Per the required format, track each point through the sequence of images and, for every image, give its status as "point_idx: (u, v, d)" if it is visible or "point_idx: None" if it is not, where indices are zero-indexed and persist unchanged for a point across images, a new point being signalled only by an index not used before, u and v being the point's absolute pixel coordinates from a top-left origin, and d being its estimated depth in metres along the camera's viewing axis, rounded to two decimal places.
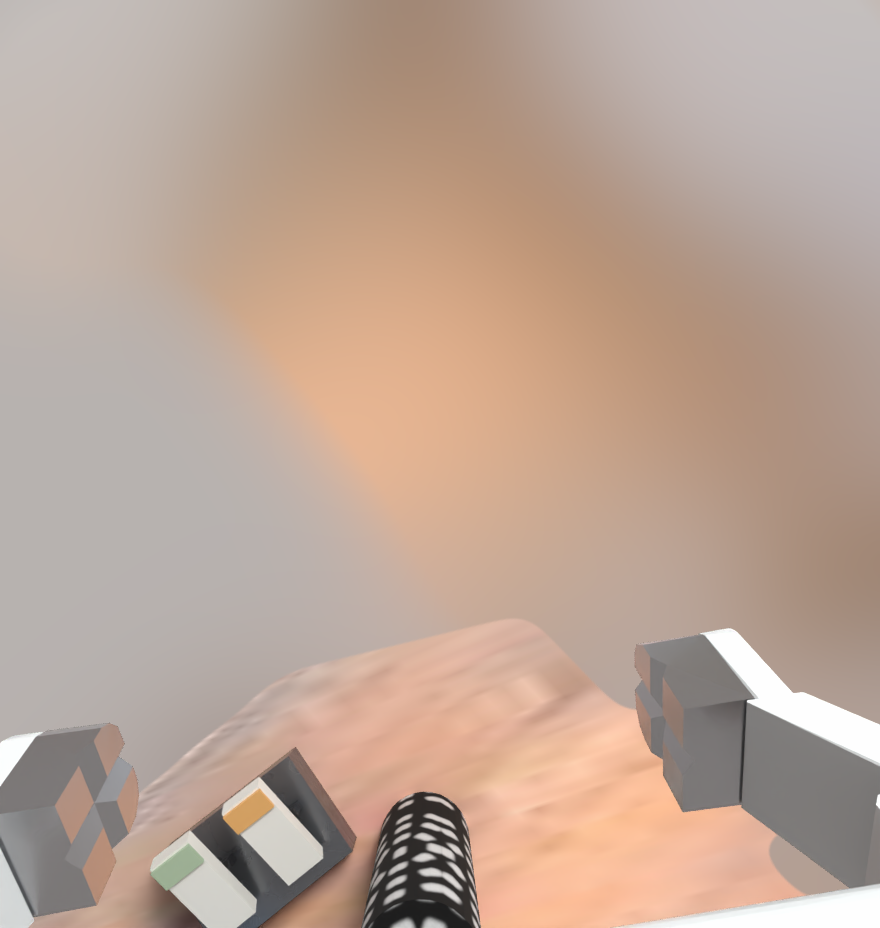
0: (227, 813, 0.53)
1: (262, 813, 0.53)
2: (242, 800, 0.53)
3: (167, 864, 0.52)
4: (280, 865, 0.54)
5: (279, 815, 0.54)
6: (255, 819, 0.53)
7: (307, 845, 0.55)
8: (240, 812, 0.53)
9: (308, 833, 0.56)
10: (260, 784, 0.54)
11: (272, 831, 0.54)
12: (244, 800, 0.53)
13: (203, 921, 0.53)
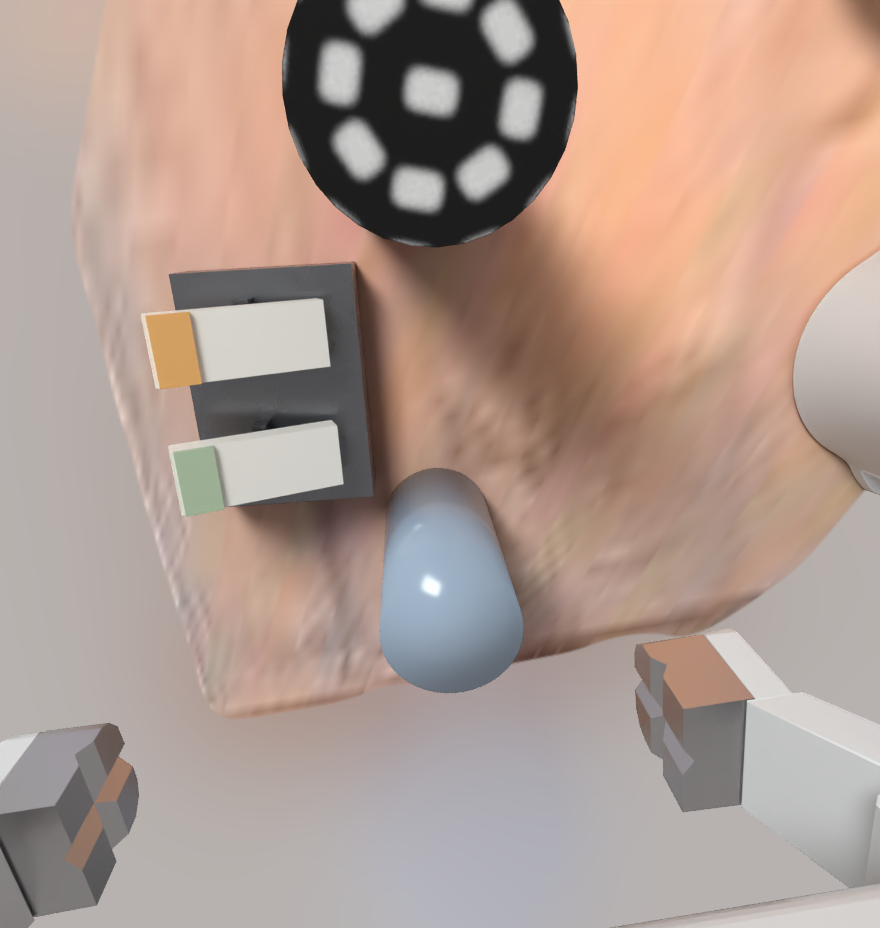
0: (157, 379, 0.32)
1: (189, 333, 0.32)
2: (150, 349, 0.32)
3: (185, 490, 0.34)
4: (292, 359, 0.34)
5: (213, 315, 0.32)
6: (192, 348, 0.32)
7: (288, 308, 0.34)
8: (166, 361, 0.32)
9: (280, 301, 0.35)
10: (146, 314, 0.32)
11: (231, 339, 0.33)
12: (151, 346, 0.32)
13: (303, 489, 0.37)
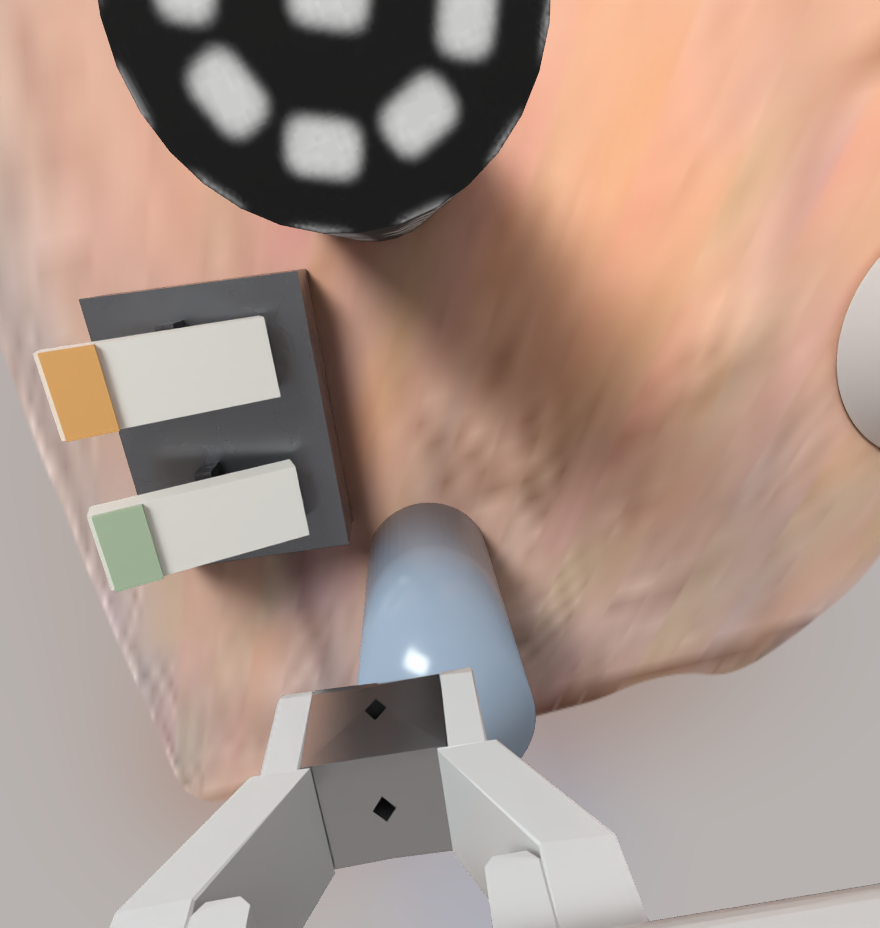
0: (62, 430, 0.26)
1: (96, 371, 0.26)
2: (49, 393, 0.25)
3: (111, 561, 0.28)
4: (232, 391, 0.28)
5: (126, 345, 0.26)
6: (102, 388, 0.26)
7: (221, 330, 0.28)
8: (70, 407, 0.26)
9: (213, 323, 0.28)
10: (42, 351, 0.26)
11: (152, 374, 0.27)
12: (50, 390, 0.25)
13: (260, 545, 0.31)
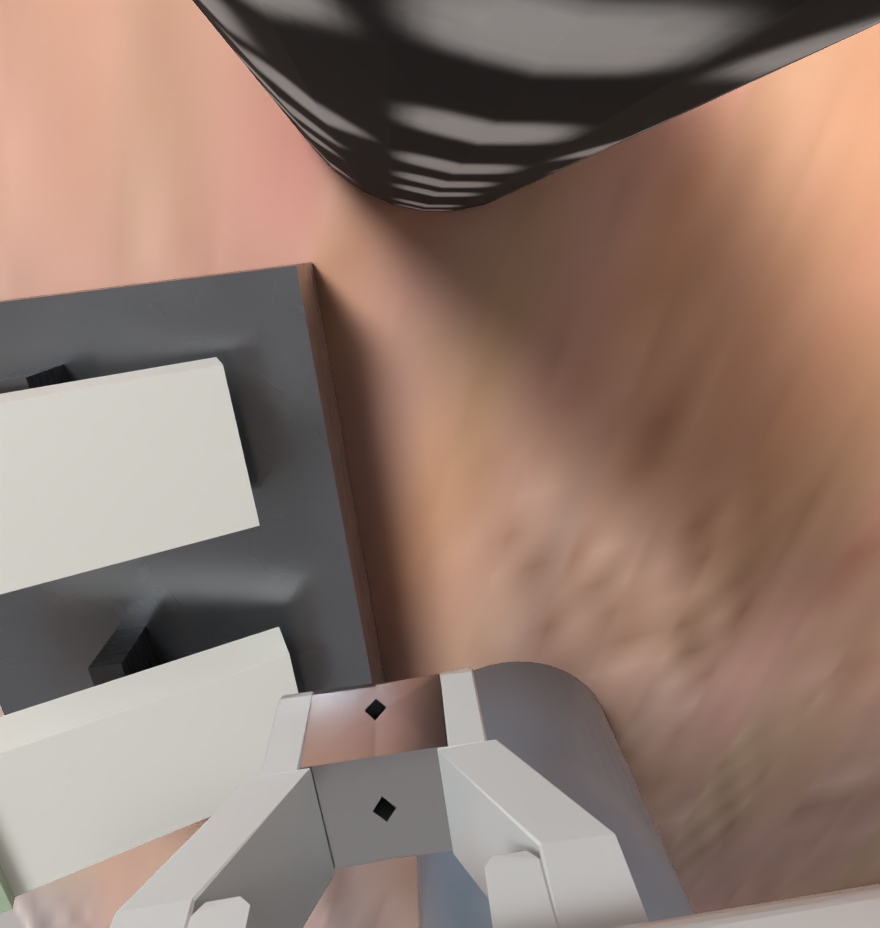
0: None
1: None
2: None
3: None
4: (155, 523, 0.13)
5: None
6: None
7: (126, 396, 0.12)
8: None
9: (116, 375, 0.13)
10: None
11: None
12: None
13: None
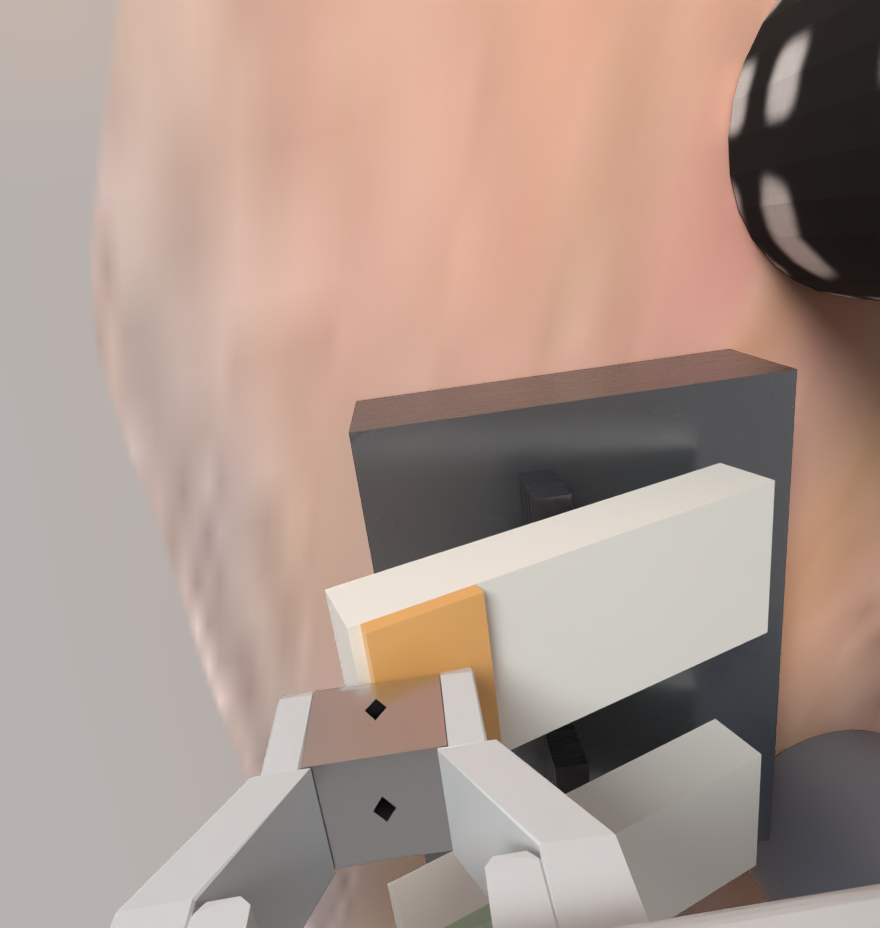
0: None
1: (480, 650, 0.11)
2: None
3: None
4: (697, 638, 0.13)
5: (534, 578, 0.11)
6: (487, 686, 0.11)
7: (703, 518, 0.12)
8: None
9: (654, 489, 0.13)
10: (353, 605, 0.10)
11: (572, 630, 0.12)
12: None
13: (683, 906, 0.15)
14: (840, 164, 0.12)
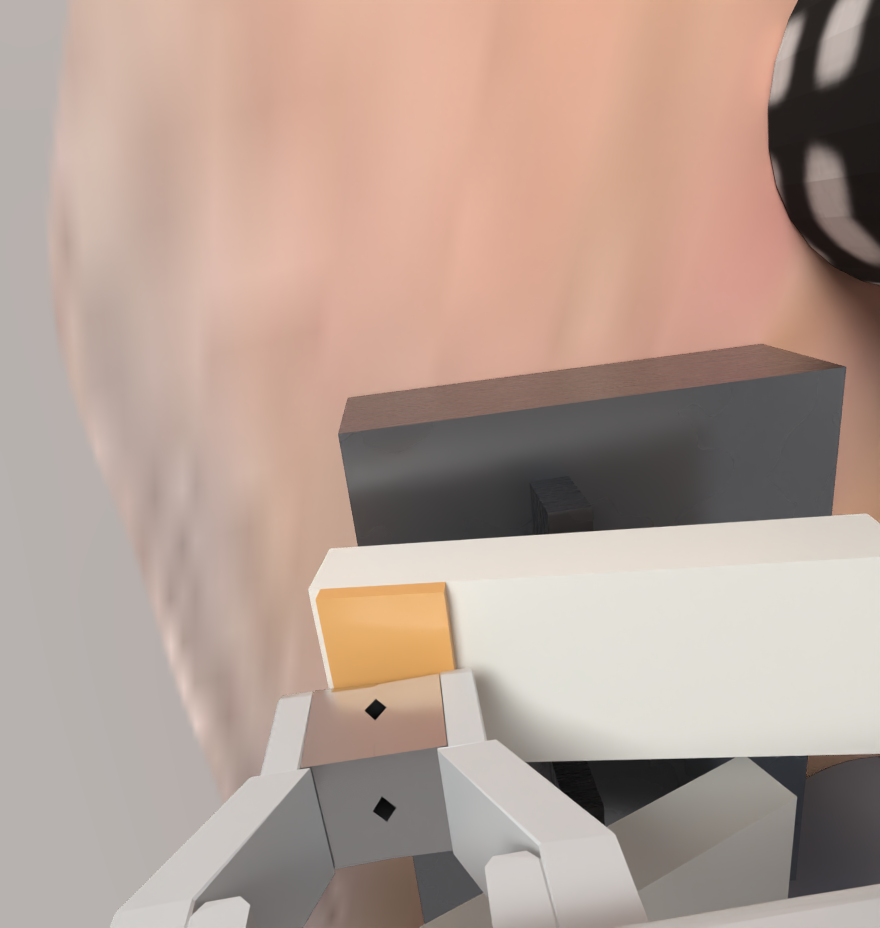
0: None
1: (440, 650, 0.10)
2: None
3: None
4: (760, 725, 0.10)
5: (519, 592, 0.10)
6: None
7: (778, 579, 0.09)
8: None
9: (741, 527, 0.10)
10: (333, 570, 0.11)
11: (569, 662, 0.10)
12: (336, 668, 0.11)
13: None
14: None
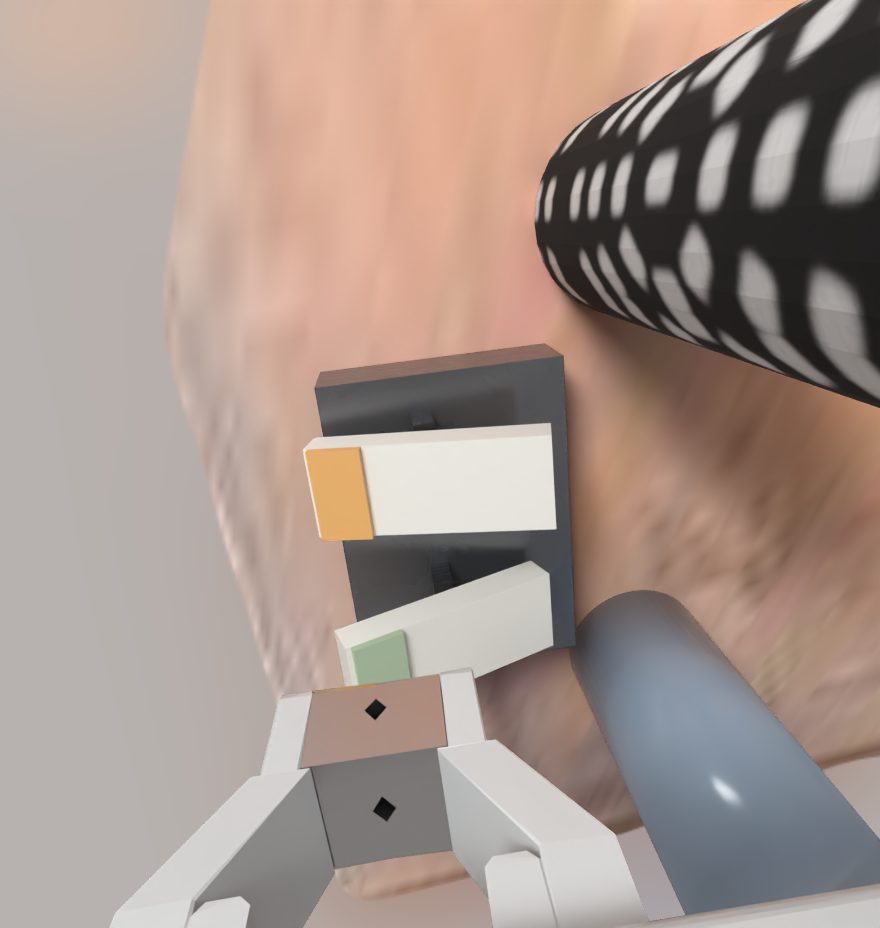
0: (320, 528, 0.24)
1: (358, 476, 0.23)
2: (313, 490, 0.24)
3: None
4: (499, 515, 0.23)
5: (391, 451, 0.23)
6: (361, 494, 0.23)
7: (497, 446, 0.22)
8: (329, 508, 0.24)
9: (494, 428, 0.23)
10: (314, 444, 0.24)
11: (415, 484, 0.23)
12: (314, 487, 0.24)
13: (506, 662, 0.27)
14: (565, 250, 0.23)
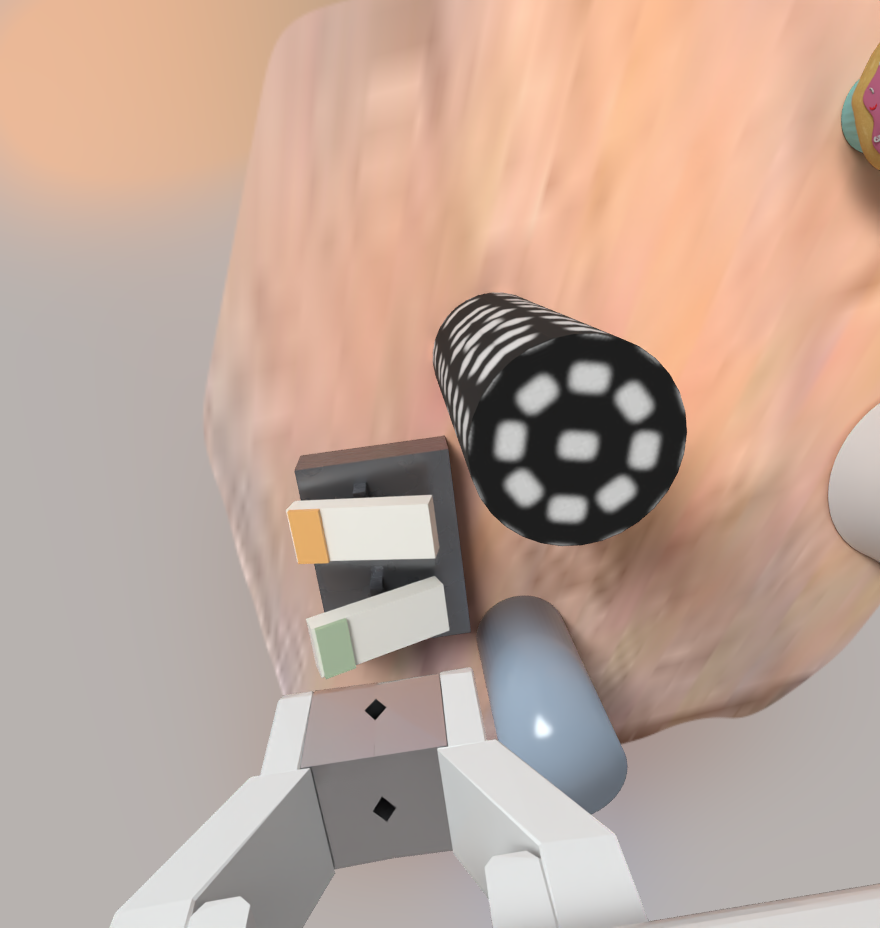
0: None
1: (318, 526, 0.39)
2: None
3: (324, 658, 0.40)
4: (402, 549, 0.39)
5: (337, 512, 0.39)
6: (320, 537, 0.39)
7: (397, 509, 0.38)
8: (302, 544, 0.40)
9: (399, 497, 0.39)
10: (293, 506, 0.40)
11: (352, 531, 0.39)
12: (293, 532, 0.40)
13: (417, 640, 0.43)
14: None
